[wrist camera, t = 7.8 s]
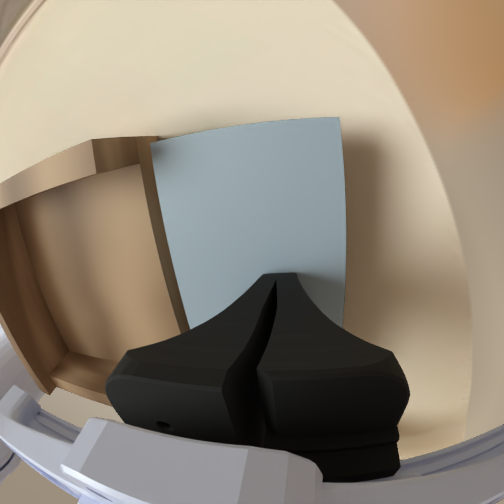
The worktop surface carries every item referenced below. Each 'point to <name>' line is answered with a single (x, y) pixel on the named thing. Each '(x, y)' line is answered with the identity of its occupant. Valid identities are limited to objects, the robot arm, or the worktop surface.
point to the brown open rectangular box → (86, 264)
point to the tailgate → (254, 211)
